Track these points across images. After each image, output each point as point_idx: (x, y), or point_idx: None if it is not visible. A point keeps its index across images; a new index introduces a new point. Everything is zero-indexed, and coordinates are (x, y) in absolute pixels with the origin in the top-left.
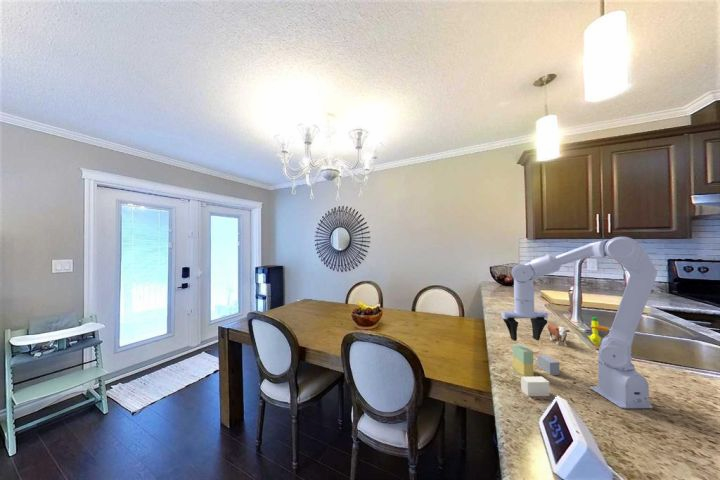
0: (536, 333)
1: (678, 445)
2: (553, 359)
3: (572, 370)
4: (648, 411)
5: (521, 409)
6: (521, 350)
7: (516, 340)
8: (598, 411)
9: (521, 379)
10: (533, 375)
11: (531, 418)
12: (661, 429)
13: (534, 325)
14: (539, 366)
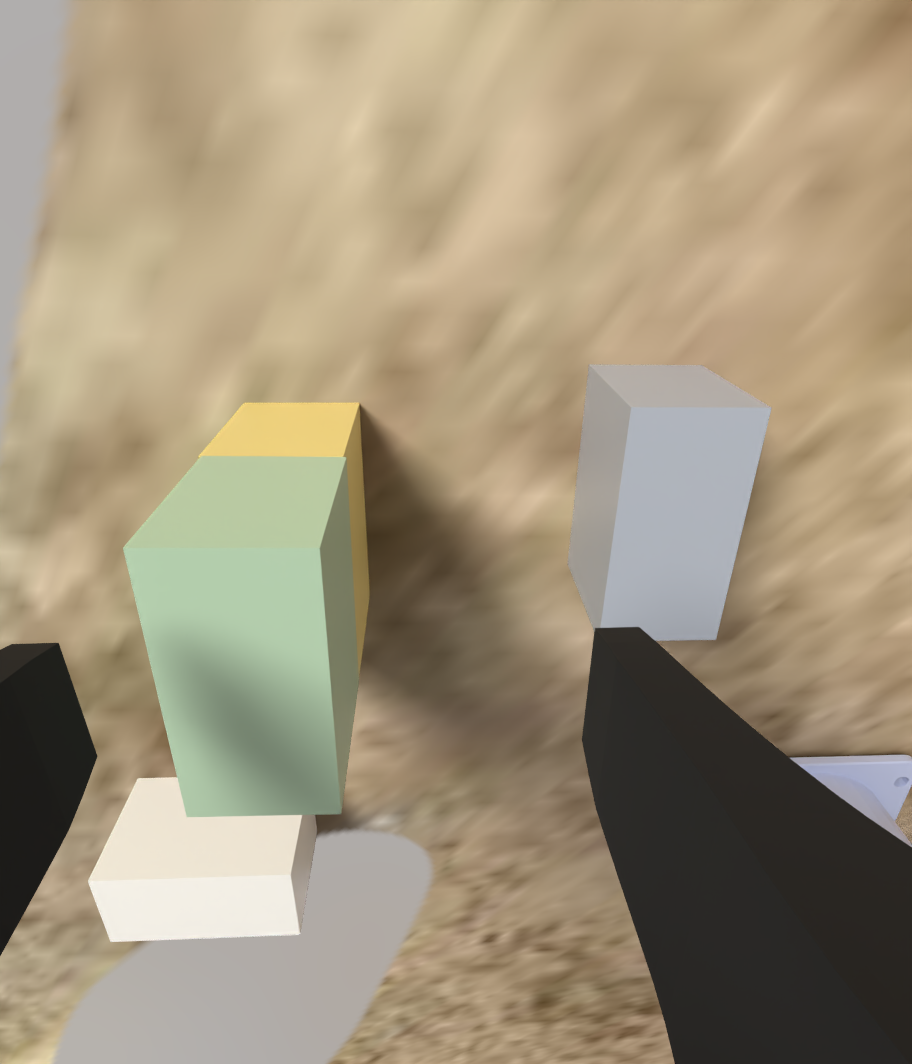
0: (635, 848)
1: (625, 1058)
2: (721, 567)
3: (887, 485)
4: None
5: (51, 933)
6: (178, 775)
7: (91, 769)
8: (506, 931)
9: (100, 862)
10: (368, 601)
11: (80, 981)
12: None
13: (757, 1027)
14: (586, 403)
